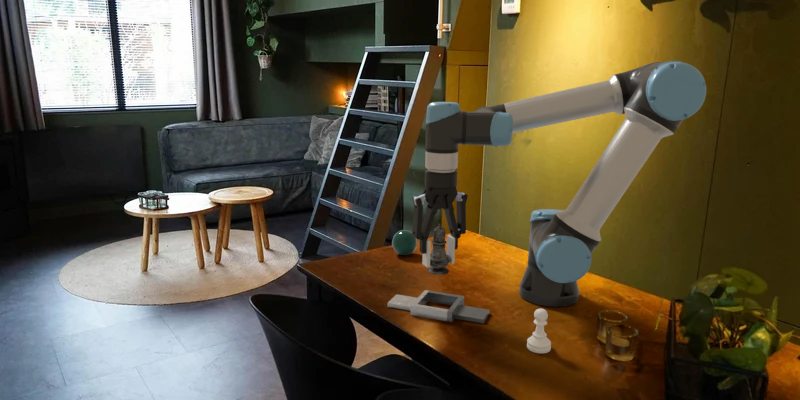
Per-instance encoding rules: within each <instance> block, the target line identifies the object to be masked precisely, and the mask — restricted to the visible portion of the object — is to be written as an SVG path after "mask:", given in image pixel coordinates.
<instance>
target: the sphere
mask: <svg viewBox="0 0 800 400" xmlns="http://www.w3.org/2000/svg"><path fill="white" fill-rule="evenodd" d="M392 237H393V238H392V241H391V246H392V248H393V251H395V252H396V253H397V254H399V255H401V256H408V255H411V254H413V253H414V252H415V250H416V249H417V247H418V239H416V238H415V237H414V236H412V231H410V230H407V229H401V230H398V231H397V232H396V233H395V234H394V235H393V236H392Z"/></svg>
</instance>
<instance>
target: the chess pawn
mask: <svg viewBox="0 0 800 400" xmlns="http://www.w3.org/2000/svg"><path fill="white" fill-rule="evenodd" d="M548 313H549V312H548V311H547V310H546V309H544V308H542V307H541V308H537V309H535V310H534V312H533V316H534V320H533V321H532V322H533V324H535V325H536V327H535V330H534V331H532V335H530V336H529V337H528V338H527V339H526V342H527V343H526V348H527V349H528V350H529V351H530V352H532V353H535V354H547V353H549V352H551V350H552V347H551V346H552V341H551V340H550V339H549V338H548V337H547V336H548V334H547V333H546V332H545V326H547V325H548V321H547V319H548V317H549V314H548Z"/></svg>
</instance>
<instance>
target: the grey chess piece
mask: <svg viewBox="0 0 800 400" xmlns="http://www.w3.org/2000/svg"><path fill="white" fill-rule="evenodd" d="M432 233H433V234H432V240H430V241H431V243H432V250H431V252H430V267H428V268H427V269H426V272H427V273H429V274H431V275H434V276H435V275H436V276H443V275H446V274H447V275H448V274H449V272H450V270H449V269H448V268H447V266H449V264H450V263H449V260H450V259H451V257H450V256H449V255H447V252H446V245H447V240H446V229H445V227H443V226H441V223H439V224H438V225H437V227H434V228H433V231H432Z"/></svg>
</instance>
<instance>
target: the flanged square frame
mask: <svg viewBox="0 0 800 400" xmlns="http://www.w3.org/2000/svg"><path fill="white" fill-rule="evenodd" d="M428 302H429V303H435V304H441V305H447V306H450V308H449V309H448V308H442V307H441V308H440V307H435V306H429V305H427V303H428ZM387 308H391V309H392V308H394V309H399V310H405V311H410V316H415V317H421V318H425V319H426V318H427V319H432V320H438V321H443V322H449V323H453V322H454V321H455V320H460V321H461V320H462V321H467V322H473V323H477V324H484V323H485V321H486V320H487V318H488V317H489V315H490V309H487V308H481V307H475V306H469V305H465V295H459V294H453V293H446V292H441V291H433V290H428V289H424V291H422V293H421V294H420V295H418V297H414V296H411V295H410V296H409V295H404V294H395V295H394V296H393V297H392V298H390V300H389V301H388V302H387Z"/></svg>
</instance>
